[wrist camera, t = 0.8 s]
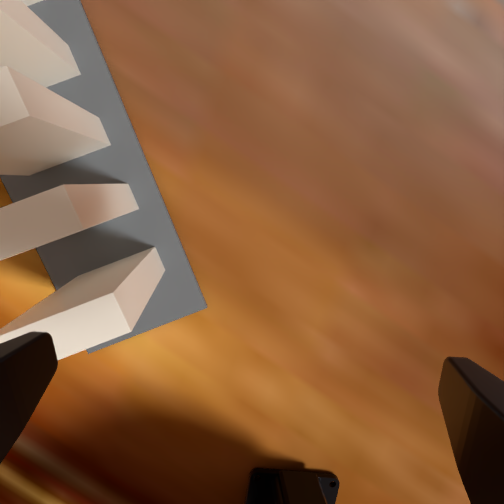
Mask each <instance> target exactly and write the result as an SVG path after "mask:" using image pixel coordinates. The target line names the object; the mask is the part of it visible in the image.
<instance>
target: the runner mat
mask: <svg viewBox="0 0 504 504" xmlns="http://www.w3.org/2000/svg"><path fill="white" fill-rule="evenodd" d="M27 7H28V8H29V9H30V10H32V11H33V12H34V13H35V14H36V15H37V16H38V17H39V18H40V19H41V20H42V21H43V22H44V23H45V24H46V25H47V26H49V27H50V28H51V29H52V30H53V31H54V32H55V33H56V34H57V35H58V36H59V37H60V38H61V39H62V40H63V41H64V42H65V43H67V44H68V46H69V48H70V50H71V53H72V55H73V57H74V60H75V62H76V64H77V67H78V69H79V71H80V74H81V75H78V76H76V77H73V78H70V79H68V80H65V81H62V82H59V83H57V84H54V85H51V86H48V87H46V88H47V89H49V90H51V91H53V92H54V93H56V94H58V95H60V96H62V97H63V98H65V99H67V100H69V101H70V102H72V103H74V104H76V105H77V106H79V107H81V108H83V109H85V110H86V111H88V112H90V113H92V114H93V115H95V116H97V117H99V118H100V121H101V123H102V125H103V128H104V130H105V132H106V135H107V137H108V139H109V142H110V144H111V145H110V146H107V147H105V148H102V149H99V150H97V151H94V152H91V153H88V154H86V155H83V156H80V157H78V158H75V159H72V160H70V161H67V162H64V163H62V164H59V165H56V166H54V167H51V168H48V169H45V170H43V171H40V172H37V173H35V174H32V175H29V176H24V175H0V178H1V180H2V182H3V184H4V186H5V188H6V190H7V192H8V194H9V196H10V198H11V200H12V202H13V203H15V202H18V201H20V200H23V199H26V198H28V197H31V196H34V195H36V194H39V193H42V192H44V191H47V190H50V189H52V188H55V187H58V186H60V185H63V184H129V187H130V189H131V191H132V193H133V196H134V198H135V200H136V203H137V205H138V207H139V209H138V210H135V211H133V212H130V213H127V214H125V215H122V216H119V217H117V218H114V219H112V220H109V221H106V222H104V223H101V224H98V225H96V226H93V227H90V228H88V229H85V230H82V231H80V232H77V233H74V234H72V235H69V236H66V237H64V238H61V239H59V240H56V241H53V242H50V243H48V244H45V245H42V246H39V247H37V248H36V250H37V252H38V254H39V256H40V258H41V260H42V262H43V264H44V266H45V268H46V270H47V272H48V274H49V276H50V278H51V280H52V282H53V284H54V286H55V288H56V290H58V289H59V288H61V287H62V286H64V285H65V284H67V283H68V282H70V281H71V280H73V279H74V278H75V277H77V276H79V275H82V274H84V273H87V272H89V271H92V270H95V269H97V268H100V267H103V266H105V265H108V264H110V263H113V262H116V261H118V260H121V259H124V258H126V257H129V256H132V255H134V254H137V253H139V252H142V251H145V250H147V249H150V248H153V247H155V248H156V250H157V252H158V255H159V257H160V259H161V261H162V264H163V266H164V268H165V272H164V274H163V275H162V277H161V279H160V281H159V283H158V284H157V286H156V288H155V290H154V292H153V293H152V295H151V297H150V299H149V301H148V303H147V304H146V306H145V308H144V310H143V312H142V313H141V315H140V317H139V319H138V321H137V322H136V324H135V326H134V328H133V330H132V332H129V333H127V334H124V335H122V336H119V337H117V338H114V339H111V340H109V341H106V342H104V343H101V344H98V345H96V346H93V347H91V348H88V349H86V350H87V352H88V354H89V353H92V352H94V351H97V350H99V349H102V348H105V347H107V346H110V345H112V344H115V343H117V342H120V341H123V340H125V339H128V338H130V337H133V336H136V335H138V334H141V333H143V332H146V331H148V330H151V329H154V328H156V327H159V326H161V325H164V324H167V323H169V322H172V321H174V320H177V319H179V318H182V317H185V316H187V315H190V314H192V313H195V312H198V311H200V310H203V309H205V308H207V304H206V302H205V300H204V297H203V295H202V292H201V290H200V287H199V285H198V283H197V280H196V278H195V275H194V273H193V271H192V268H191V266H190V263H189V261H188V259H187V256H186V254H185V251H184V249H183V247H182V244H181V242H180V239H179V237H178V235H177V232H176V230H175V227H174V225H173V223H172V220H171V218H170V215H169V213H168V211H167V208H166V206H165V203H164V201H163V199H162V196H161V194H160V191H159V189H158V186H157V184H156V182H155V179H154V177H153V174H152V172H151V170H150V167H149V165H148V162H147V160H146V158H145V155H144V153H143V150H142V148H141V146H140V143H139V141H138V138H137V136H136V134H135V131H134V129H133V126H132V124H131V122H130V119H129V117H128V114H127V112H126V110H125V107H124V105H123V102H122V100H121V97H120V95H119V93H118V90H117V88H116V85H115V83H114V81H113V78H112V76H111V73H110V71H109V69H108V66H107V64H106V61H105V59H104V57H103V54H102V52H101V49H100V47H99V45H98V42H97V40H96V37H95V35H94V33H93V30H92V28H91V25H90V23H89V21H88V18H87V16H86V13H85V11H84V9H83V6H82V4H81V1H80V0H43V1H40V2H37V3H35V4H32V5H29V6H27Z"/></svg>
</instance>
